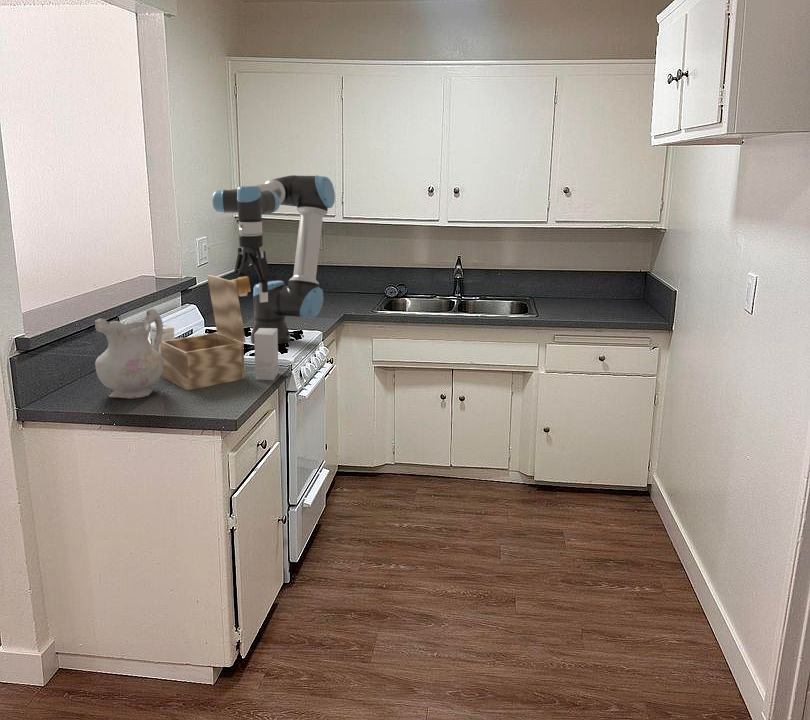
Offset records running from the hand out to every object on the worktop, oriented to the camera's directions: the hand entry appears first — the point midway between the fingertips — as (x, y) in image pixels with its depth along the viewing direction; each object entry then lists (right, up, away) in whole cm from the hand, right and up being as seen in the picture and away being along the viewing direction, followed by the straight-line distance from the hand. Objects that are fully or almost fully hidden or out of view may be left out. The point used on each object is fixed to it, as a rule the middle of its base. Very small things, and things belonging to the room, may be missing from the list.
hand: (253, 299), depth 253 cm
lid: (-8, -4, -6) cm, 11 cm away
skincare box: (+5, -26, -3) cm, 27 cm away
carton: (-15, -26, -6) cm, 31 cm away
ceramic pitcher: (-32, -30, -21) cm, 49 cm away
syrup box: (-31, -23, +5) cm, 39 cm away
